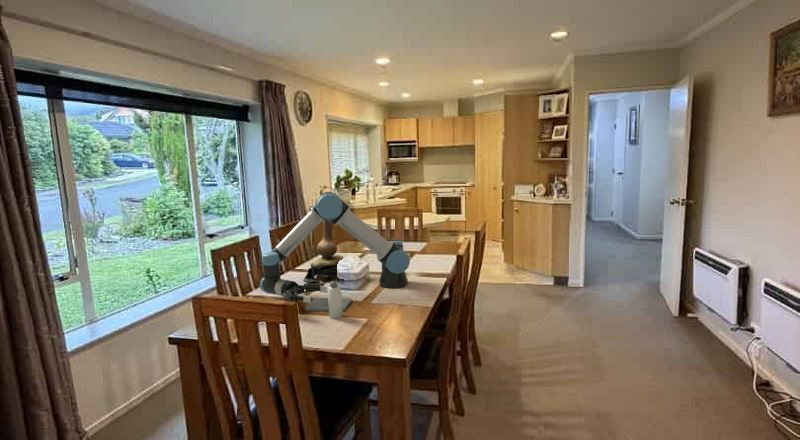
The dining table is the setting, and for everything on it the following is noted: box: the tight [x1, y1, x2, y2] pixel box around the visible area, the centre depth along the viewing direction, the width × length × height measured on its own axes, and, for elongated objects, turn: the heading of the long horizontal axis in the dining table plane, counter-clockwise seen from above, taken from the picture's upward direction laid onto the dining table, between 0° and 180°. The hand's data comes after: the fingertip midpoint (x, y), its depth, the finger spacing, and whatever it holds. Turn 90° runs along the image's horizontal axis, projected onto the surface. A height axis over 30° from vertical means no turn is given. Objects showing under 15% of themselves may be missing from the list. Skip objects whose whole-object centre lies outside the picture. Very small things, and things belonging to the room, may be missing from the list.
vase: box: [302, 219, 345, 284], centre depth 241 cm, size 24×22×35 cm
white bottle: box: [326, 281, 343, 320], centre depth 181 cm, size 6×6×15 cm
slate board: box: [304, 297, 353, 312], centre depth 195 cm, size 18×14×1 cm
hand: (321, 295), depth 184 cm, fingers open, 13 cm apart
